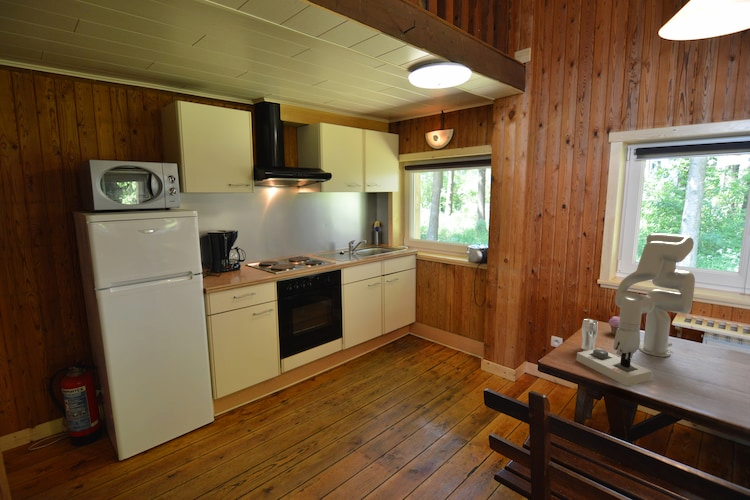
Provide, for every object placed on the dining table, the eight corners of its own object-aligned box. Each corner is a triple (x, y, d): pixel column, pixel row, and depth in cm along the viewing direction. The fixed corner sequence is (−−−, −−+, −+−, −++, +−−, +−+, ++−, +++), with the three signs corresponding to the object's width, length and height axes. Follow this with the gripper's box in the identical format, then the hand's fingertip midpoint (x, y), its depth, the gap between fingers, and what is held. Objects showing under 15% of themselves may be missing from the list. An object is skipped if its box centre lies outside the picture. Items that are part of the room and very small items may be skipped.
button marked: (622, 368, 167) (623, 361, 167) (636, 374, 162) (636, 367, 161) (613, 370, 165) (613, 364, 165) (626, 376, 160) (626, 370, 159)
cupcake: (608, 330, 216) (610, 313, 214) (626, 333, 211) (628, 316, 209) (607, 335, 209) (608, 317, 207) (626, 338, 204) (627, 320, 202)
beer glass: (598, 352, 187) (600, 323, 184) (582, 351, 188) (585, 323, 186) (593, 346, 194) (595, 319, 191) (578, 345, 195) (580, 318, 192)
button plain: (599, 354, 178) (599, 348, 178) (610, 359, 173) (611, 353, 172) (589, 356, 176) (590, 350, 176) (601, 361, 171) (601, 355, 170)
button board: (598, 355, 183) (599, 347, 183) (650, 379, 160) (651, 370, 159) (576, 360, 179) (577, 352, 178) (627, 386, 155) (628, 376, 155)
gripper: (633, 320, 166) (629, 359, 169) (608, 325, 161) (604, 365, 164) (650, 326, 159) (645, 367, 162) (625, 331, 154) (620, 373, 157)
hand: (625, 366), depth 163 cm, fingers closed
